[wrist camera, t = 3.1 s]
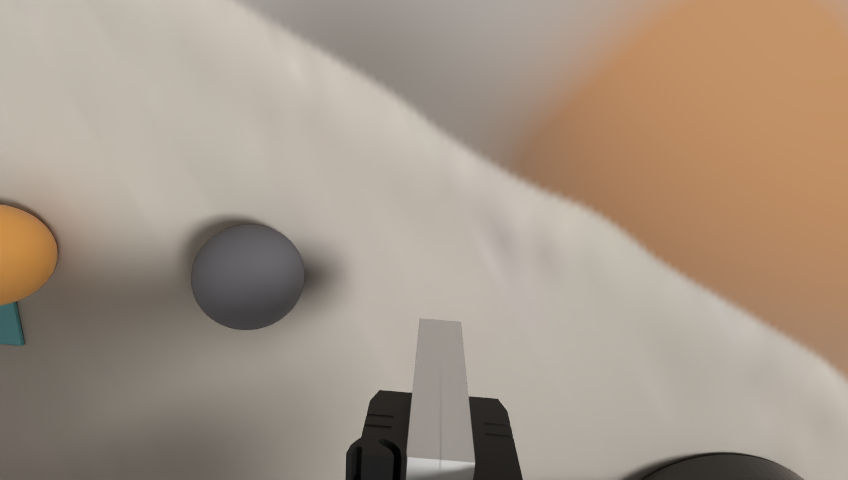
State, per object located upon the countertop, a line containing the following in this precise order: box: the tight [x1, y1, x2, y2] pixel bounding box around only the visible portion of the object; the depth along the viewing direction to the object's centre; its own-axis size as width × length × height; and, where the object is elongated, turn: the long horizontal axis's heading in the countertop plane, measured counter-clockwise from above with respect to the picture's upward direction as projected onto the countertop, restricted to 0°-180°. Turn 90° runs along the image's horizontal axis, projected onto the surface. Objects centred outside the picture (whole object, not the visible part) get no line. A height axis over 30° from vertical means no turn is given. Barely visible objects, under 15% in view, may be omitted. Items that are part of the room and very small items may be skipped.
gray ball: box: [191, 224, 305, 330], centre depth 23 cm, size 6×6×6 cm
